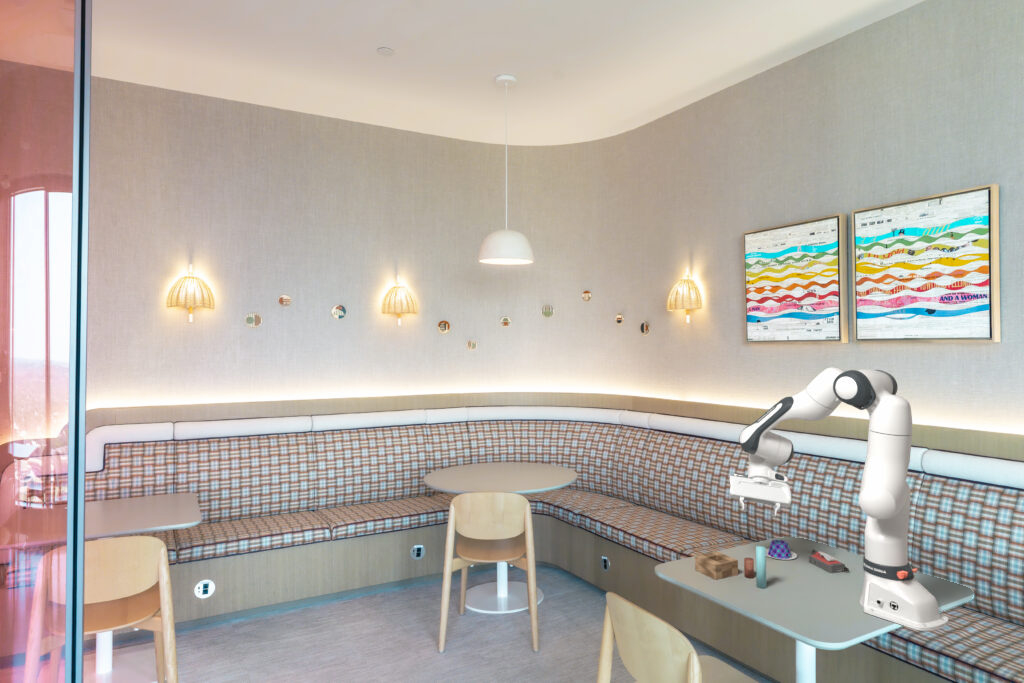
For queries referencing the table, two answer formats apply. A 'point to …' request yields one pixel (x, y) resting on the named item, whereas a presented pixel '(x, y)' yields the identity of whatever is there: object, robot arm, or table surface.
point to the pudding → (780, 550)
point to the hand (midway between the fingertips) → (758, 513)
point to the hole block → (716, 565)
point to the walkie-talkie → (827, 562)
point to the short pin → (749, 567)
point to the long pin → (761, 567)
